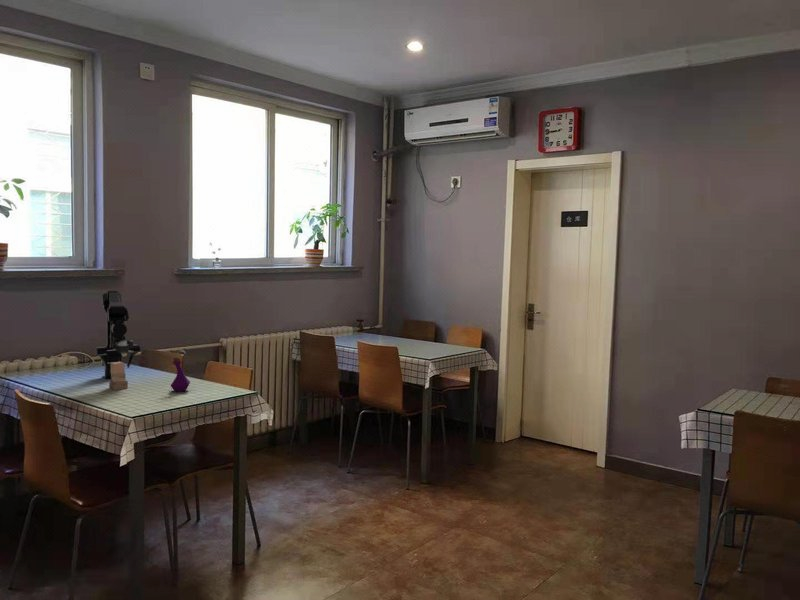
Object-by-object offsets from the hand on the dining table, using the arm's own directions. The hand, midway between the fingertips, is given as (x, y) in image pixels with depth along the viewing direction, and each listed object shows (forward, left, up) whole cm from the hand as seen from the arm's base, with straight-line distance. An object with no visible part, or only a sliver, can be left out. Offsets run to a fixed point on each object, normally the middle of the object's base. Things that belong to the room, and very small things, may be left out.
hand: (117, 368), depth 299 cm
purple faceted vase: (+21, +20, -9) cm, 30 cm away
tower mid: (0, 0, -6) cm, 6 cm away
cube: (0, 0, -2) cm, 2 cm away
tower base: (0, 0, -9) cm, 9 cm away
